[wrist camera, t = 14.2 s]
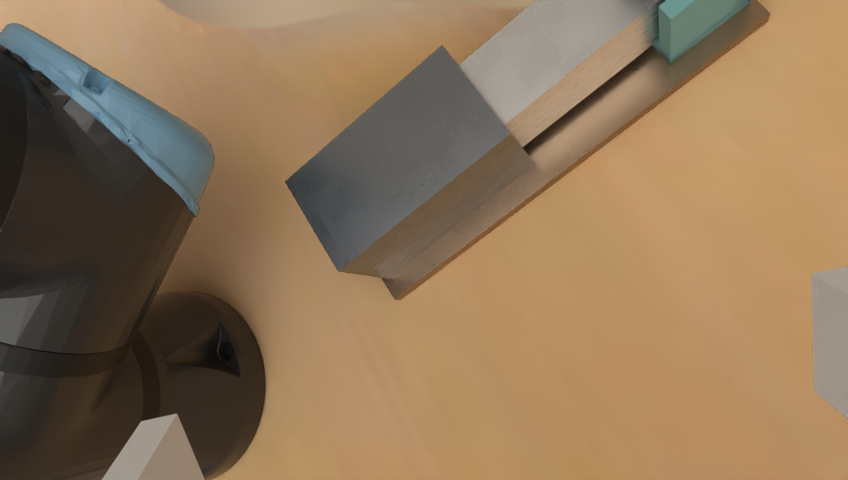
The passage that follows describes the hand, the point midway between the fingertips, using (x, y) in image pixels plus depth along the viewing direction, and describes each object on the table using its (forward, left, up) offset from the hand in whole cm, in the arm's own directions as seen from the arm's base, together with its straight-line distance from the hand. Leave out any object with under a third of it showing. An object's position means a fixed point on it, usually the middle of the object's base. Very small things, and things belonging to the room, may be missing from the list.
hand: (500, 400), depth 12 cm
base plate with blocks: (-9, +13, -27) cm, 31 cm away
